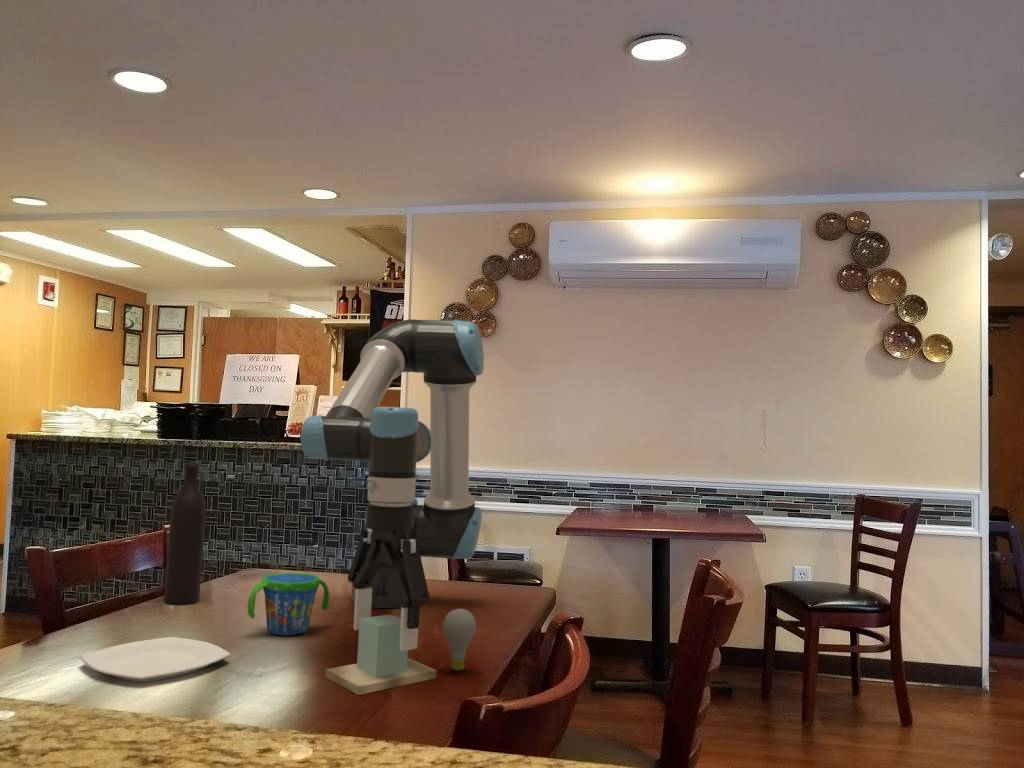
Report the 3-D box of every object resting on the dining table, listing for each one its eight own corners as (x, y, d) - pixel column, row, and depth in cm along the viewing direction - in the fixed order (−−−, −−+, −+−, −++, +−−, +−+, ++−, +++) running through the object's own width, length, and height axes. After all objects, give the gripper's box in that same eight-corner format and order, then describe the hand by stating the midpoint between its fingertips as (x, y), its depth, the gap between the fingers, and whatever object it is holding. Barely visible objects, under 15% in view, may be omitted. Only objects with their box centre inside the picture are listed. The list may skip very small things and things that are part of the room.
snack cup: (318, 621, 153) (321, 570, 153) (337, 634, 144) (340, 579, 144) (238, 629, 144) (242, 575, 145) (253, 643, 135) (257, 585, 136)
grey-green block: (356, 668, 119) (359, 618, 120) (387, 662, 123) (389, 614, 124) (375, 677, 115) (378, 626, 116) (406, 671, 119) (409, 621, 119)
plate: (134, 696, 107) (136, 682, 108) (61, 669, 118) (62, 656, 118) (246, 665, 124) (247, 653, 124) (173, 644, 134) (174, 632, 134)
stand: (401, 662, 128) (403, 618, 128) (436, 678, 120) (438, 631, 121) (325, 677, 118) (328, 629, 119) (358, 695, 111) (361, 644, 111)
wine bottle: (206, 601, 166) (215, 463, 168) (176, 606, 160) (187, 463, 162) (186, 596, 170) (196, 461, 172) (156, 601, 164) (167, 462, 166)
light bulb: (440, 665, 127) (443, 604, 127) (473, 666, 127) (476, 605, 128) (440, 676, 121) (443, 612, 122) (474, 676, 122) (477, 613, 122)
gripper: (331, 496, 128) (324, 624, 127) (415, 513, 109) (408, 663, 108) (370, 495, 133) (364, 617, 132) (456, 511, 114) (450, 654, 113)
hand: (384, 638), depth 120 cm, fingers open, 13 cm apart
